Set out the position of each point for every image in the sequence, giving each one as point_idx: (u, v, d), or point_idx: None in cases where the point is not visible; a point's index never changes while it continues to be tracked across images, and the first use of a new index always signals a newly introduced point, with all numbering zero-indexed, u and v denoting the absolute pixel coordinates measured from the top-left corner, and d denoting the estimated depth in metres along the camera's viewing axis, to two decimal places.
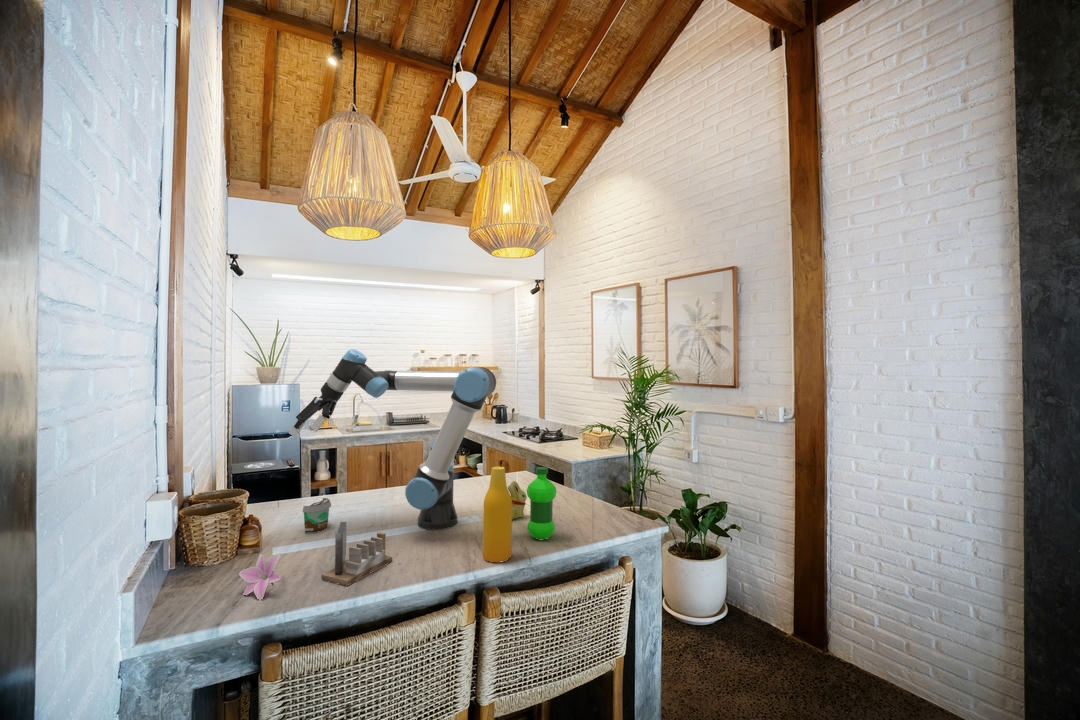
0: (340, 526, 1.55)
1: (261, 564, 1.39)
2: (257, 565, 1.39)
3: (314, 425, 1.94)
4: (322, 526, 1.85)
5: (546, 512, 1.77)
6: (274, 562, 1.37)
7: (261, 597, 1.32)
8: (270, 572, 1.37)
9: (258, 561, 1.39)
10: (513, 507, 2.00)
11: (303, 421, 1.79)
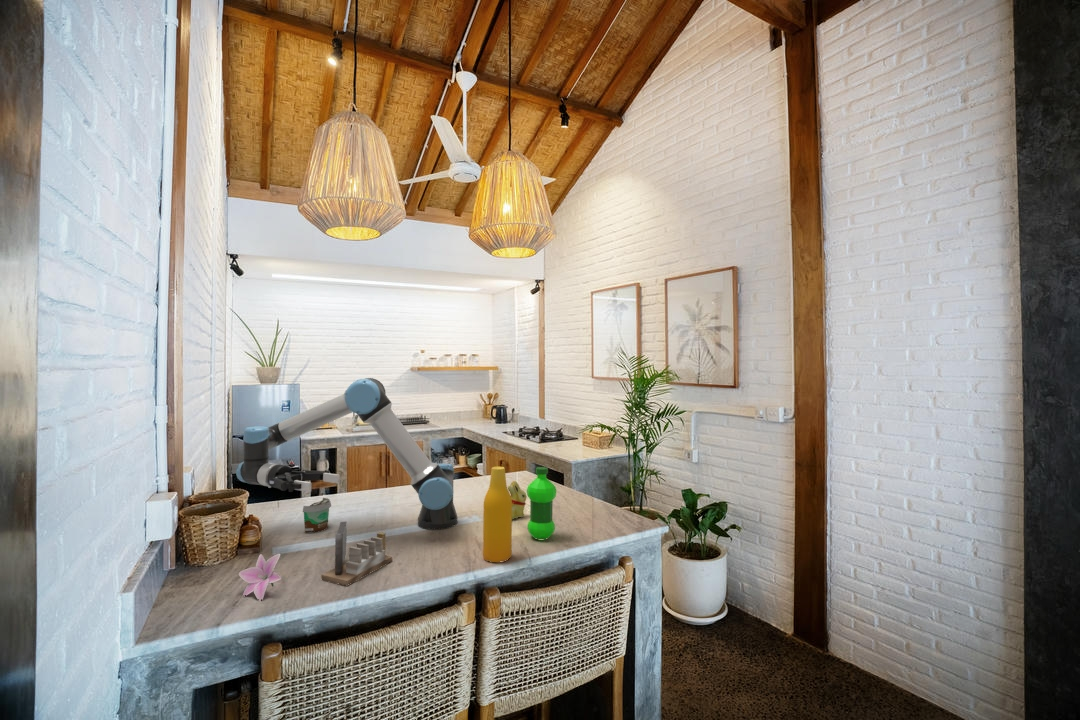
0: (340, 526, 1.55)
1: (261, 564, 1.38)
2: (257, 565, 1.38)
3: (334, 480, 1.65)
4: (322, 526, 1.85)
5: (546, 512, 1.77)
6: (274, 562, 1.37)
7: (261, 597, 1.32)
8: (270, 572, 1.36)
9: (258, 561, 1.39)
10: (513, 507, 2.00)
11: (289, 481, 1.56)
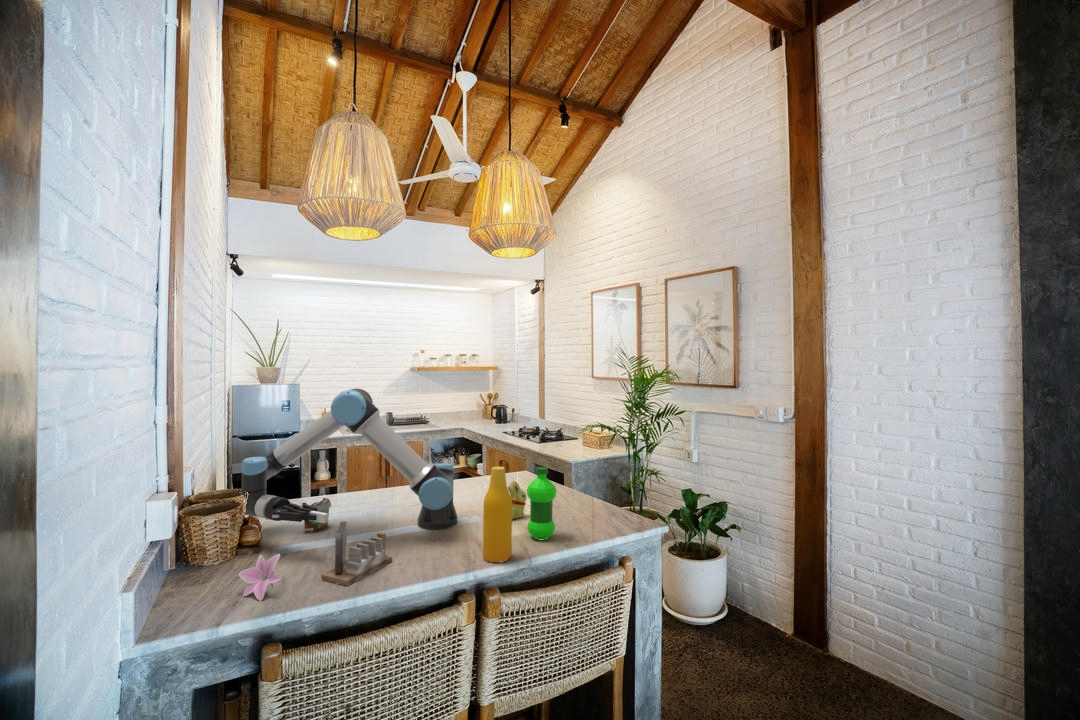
0: (340, 526, 1.55)
1: (260, 565, 1.38)
2: (257, 566, 1.38)
3: None
4: (322, 526, 1.85)
5: (546, 512, 1.77)
6: (274, 563, 1.37)
7: (261, 598, 1.32)
8: (270, 573, 1.36)
9: (258, 562, 1.39)
10: (513, 507, 2.00)
11: (305, 513, 1.60)
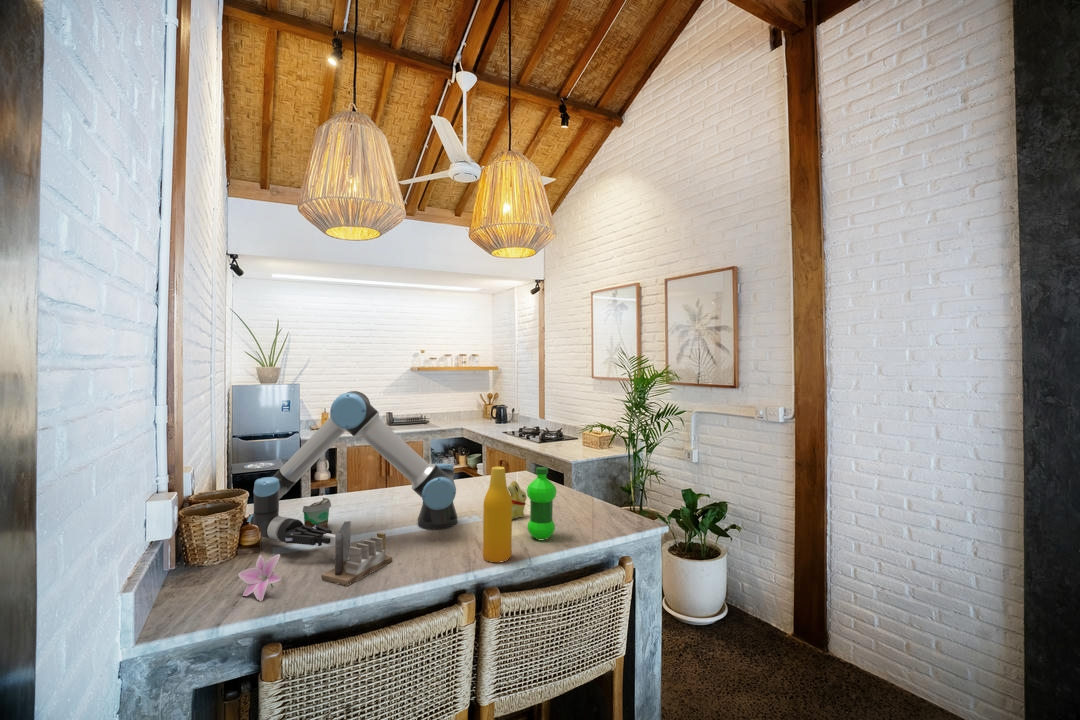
0: (343, 526, 1.55)
1: (260, 565, 1.38)
2: (256, 566, 1.38)
3: None
4: (322, 526, 1.85)
5: (546, 512, 1.77)
6: (274, 563, 1.37)
7: (261, 598, 1.32)
8: (270, 573, 1.36)
9: (257, 562, 1.38)
10: (513, 507, 2.00)
11: (319, 536, 1.57)
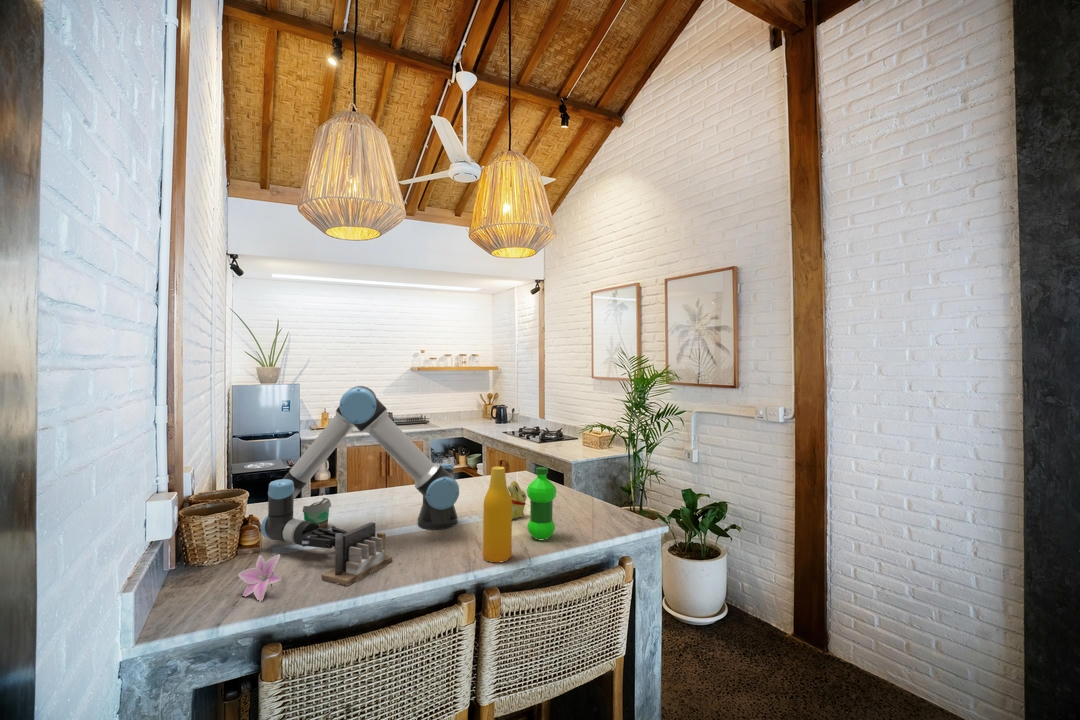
0: (361, 526, 1.55)
1: (260, 565, 1.38)
2: (256, 566, 1.38)
3: None
4: (322, 526, 1.85)
5: (546, 512, 1.77)
6: (274, 563, 1.37)
7: (261, 598, 1.32)
8: (270, 573, 1.36)
9: (257, 562, 1.38)
10: (513, 507, 2.00)
11: None
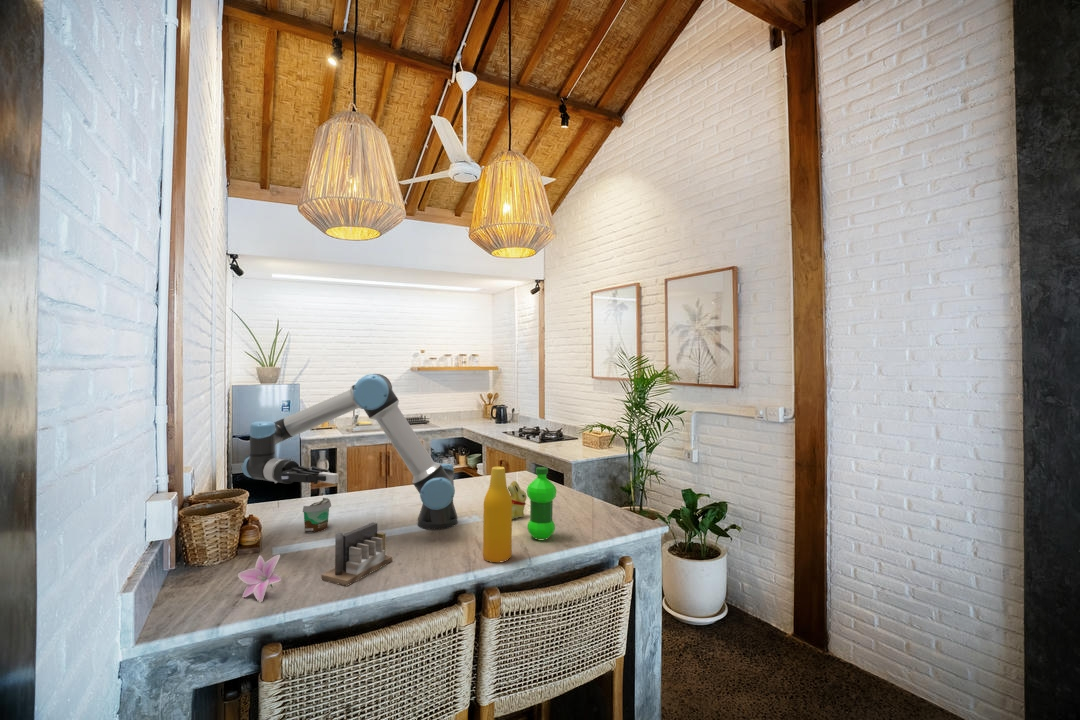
0: (363, 526, 1.55)
1: (260, 566, 1.38)
2: (256, 567, 1.37)
3: None
4: (322, 526, 1.85)
5: (546, 512, 1.77)
6: (274, 563, 1.36)
7: (261, 599, 1.31)
8: (270, 574, 1.36)
9: (257, 563, 1.38)
10: (513, 507, 2.00)
11: (315, 474, 1.59)
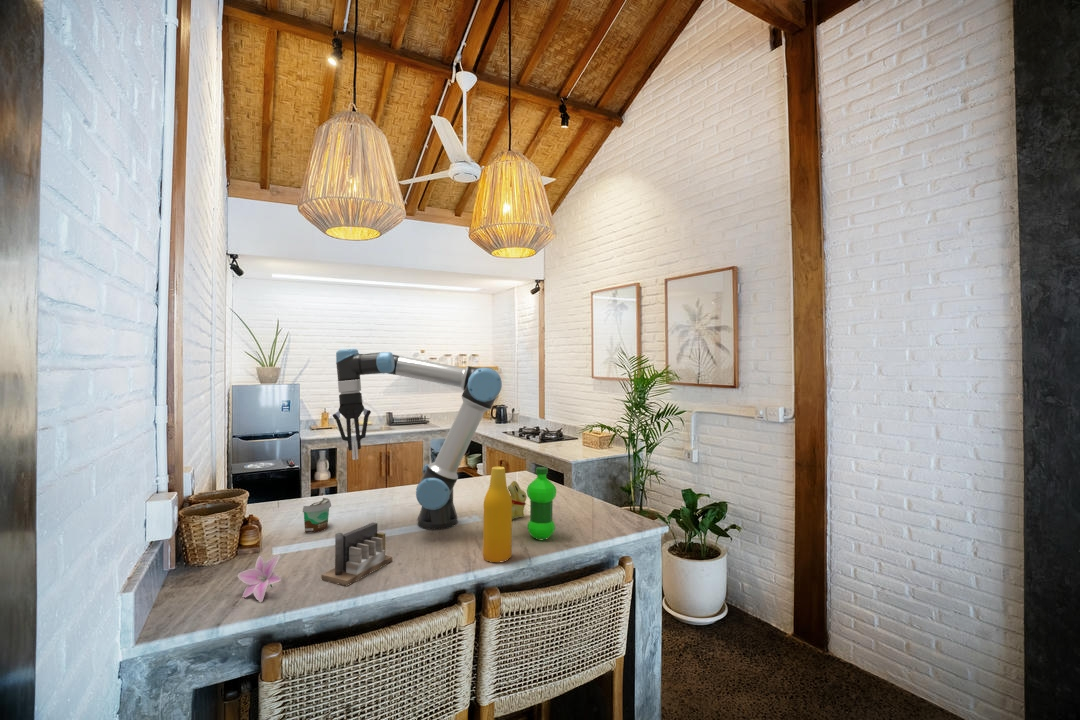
0: (363, 526, 1.55)
1: (260, 566, 1.37)
2: (256, 567, 1.37)
3: (355, 454, 1.79)
4: (322, 526, 1.85)
5: (546, 512, 1.77)
6: (274, 564, 1.36)
7: (261, 599, 1.31)
8: (270, 574, 1.36)
9: (257, 563, 1.38)
10: (513, 507, 2.00)
11: (348, 440, 1.76)
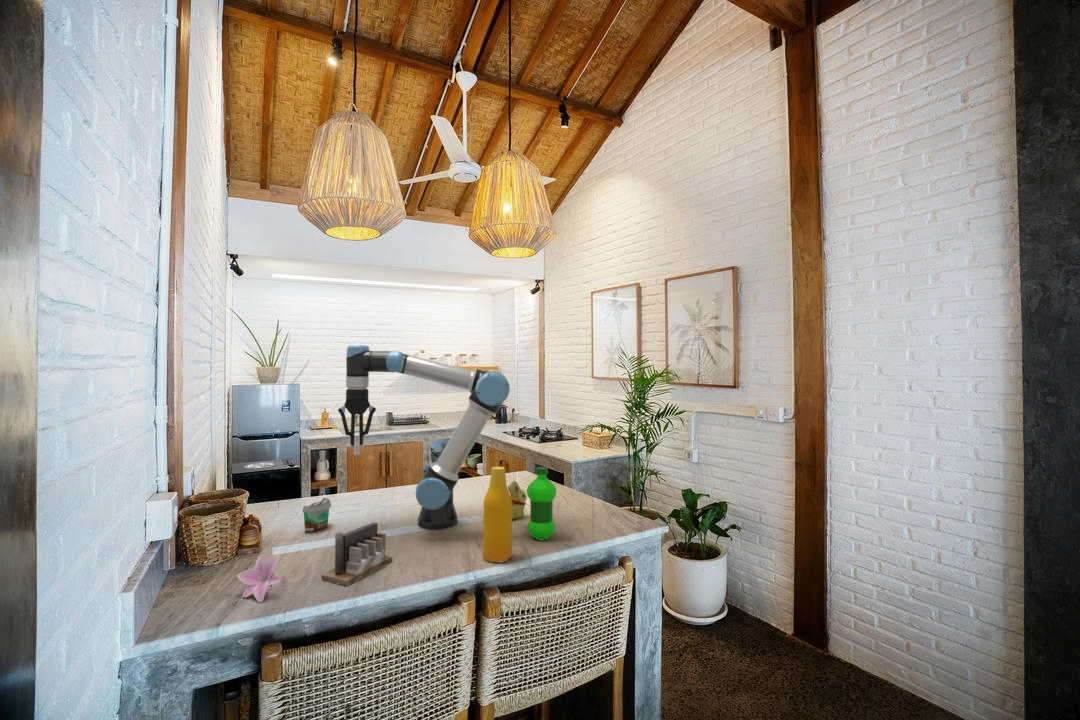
0: (363, 526, 1.55)
1: (260, 566, 1.37)
2: (256, 567, 1.37)
3: None
4: (322, 526, 1.85)
5: (546, 512, 1.77)
6: (273, 564, 1.36)
7: (261, 599, 1.31)
8: (269, 574, 1.35)
9: (257, 563, 1.38)
10: (513, 507, 2.00)
11: (351, 436, 1.77)
